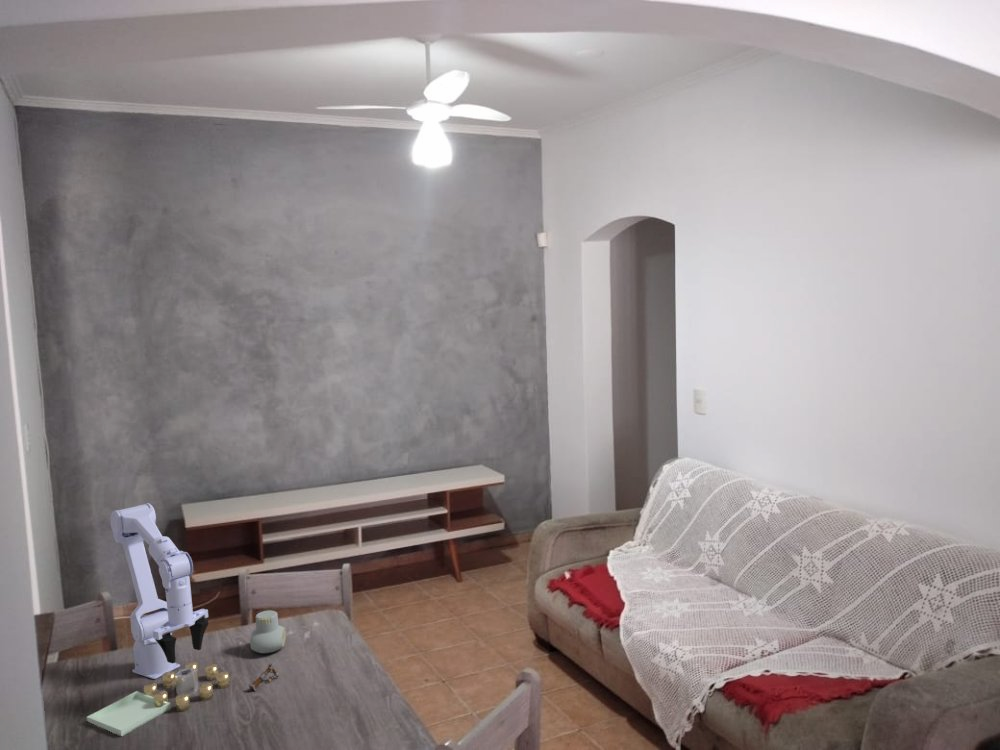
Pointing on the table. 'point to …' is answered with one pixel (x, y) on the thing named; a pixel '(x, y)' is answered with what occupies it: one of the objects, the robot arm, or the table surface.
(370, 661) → the table surface
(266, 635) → the air freshener
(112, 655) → the table surface
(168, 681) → the set of brass balls
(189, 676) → the steel nut
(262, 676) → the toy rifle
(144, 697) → the tray
